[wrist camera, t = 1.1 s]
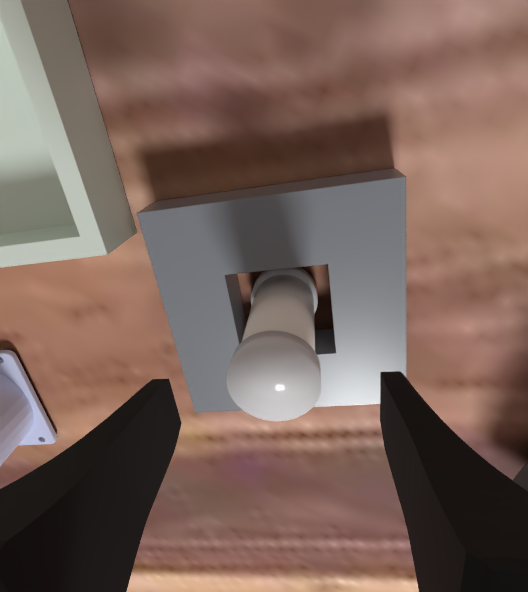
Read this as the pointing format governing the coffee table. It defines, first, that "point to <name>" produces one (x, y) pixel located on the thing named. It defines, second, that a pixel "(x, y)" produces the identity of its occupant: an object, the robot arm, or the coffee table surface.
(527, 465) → the bluetooth speaker
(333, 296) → the grey square frame
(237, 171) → the coffee table surface
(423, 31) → the coffee table surface
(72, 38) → the parts tray
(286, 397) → the cylinder
